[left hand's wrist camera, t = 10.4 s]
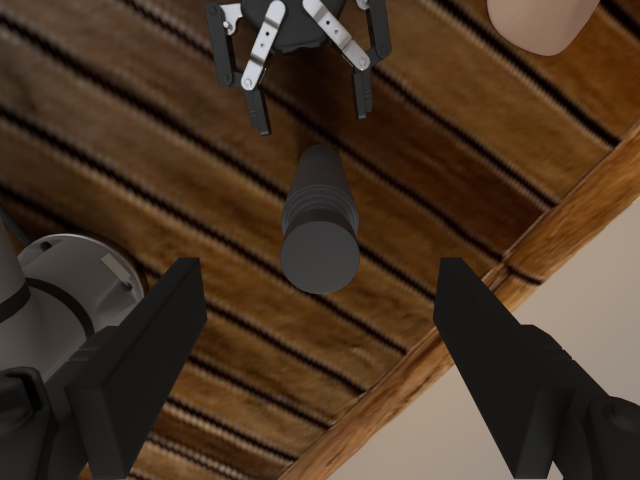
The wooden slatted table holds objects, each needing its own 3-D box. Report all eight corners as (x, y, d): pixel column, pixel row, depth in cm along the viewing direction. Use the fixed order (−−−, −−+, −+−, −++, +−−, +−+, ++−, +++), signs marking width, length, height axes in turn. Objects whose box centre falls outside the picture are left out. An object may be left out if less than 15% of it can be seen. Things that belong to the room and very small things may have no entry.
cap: (280, 210, 18) (275, 223, 16) (355, 205, 18) (359, 218, 16) (287, 277, 19) (283, 296, 17) (356, 273, 19) (360, 292, 17)
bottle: (297, 145, 39) (265, 210, 16) (340, 142, 39) (368, 205, 16) (300, 187, 41) (275, 300, 18) (341, 185, 41) (369, 295, 18)
